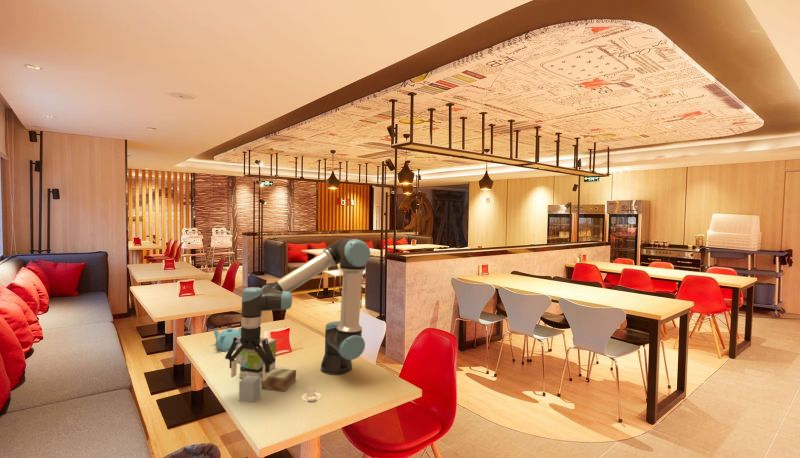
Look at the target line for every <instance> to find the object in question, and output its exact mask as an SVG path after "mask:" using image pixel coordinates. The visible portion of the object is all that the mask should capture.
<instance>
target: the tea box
mask: <svg viewBox="0 0 800 458" xmlns="http://www.w3.org/2000/svg"><path fill="white" fill-rule="evenodd" d="M260 339H261V340H262V339H268V345H269V347H270V350H271V352H272V355H273V357H274V359H275V361H274V362H273V363H272V364H270V370H271V369H273V368H276V360H277V359H276V354H277V339H276V338H266V337H260ZM260 346H261V347H262V350H263V351H264V349H263V346H262V345H261V343H260ZM257 348H258V347H257ZM264 352H265V351H264ZM239 364H240V365H239V378H240V379H243V378H245V377H246V376H247V375H248V376H258V377H261V378H262V377H263V365H264V364H265V363H264V362H263V360H262V359H261V358H260V356H259V355H258V353H257V352H255V350H250V349H245V348H244V349H243V350H242V351H241V359H240V363H239ZM270 370H269V371H270Z"/></svg>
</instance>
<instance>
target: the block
mask: <svg viewBox="0 0 800 458" xmlns="http://www.w3.org/2000/svg"><path fill="white" fill-rule="evenodd" d="M238 383H239V384H238V385H239V387H238V388H239V389H238V391H239V393H238V401H239V402H246V403H254V402H255V401H257V399H259V398H260V396H261V390H262V389H261V377H258V376H248V375H247V376H246V377H245V378H241V380H239V382H238Z"/></svg>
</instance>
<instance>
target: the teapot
mask: <svg viewBox="0 0 800 458" xmlns="http://www.w3.org/2000/svg"><path fill="white" fill-rule="evenodd" d="M213 332H214V333H213V334H214V337H215V348H217V350H219V351H222V352H228V351H229V349H230V347H231V345H232V343H233V338H234V337H236V336H239V337H241V327H239V328H238V329H233V327H227V328H226V329H224V330H222V331H221V332H219V331H218V330H217V329H216V330H214V331H213ZM239 344H241V342H240V341H239V342H238V344H237V345H239ZM234 351H236V348H235V350H234Z"/></svg>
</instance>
